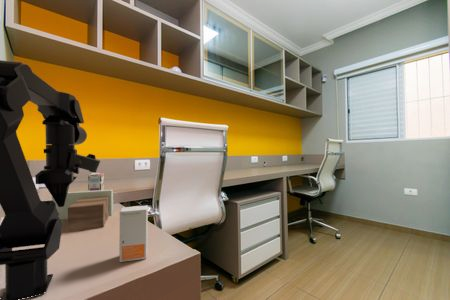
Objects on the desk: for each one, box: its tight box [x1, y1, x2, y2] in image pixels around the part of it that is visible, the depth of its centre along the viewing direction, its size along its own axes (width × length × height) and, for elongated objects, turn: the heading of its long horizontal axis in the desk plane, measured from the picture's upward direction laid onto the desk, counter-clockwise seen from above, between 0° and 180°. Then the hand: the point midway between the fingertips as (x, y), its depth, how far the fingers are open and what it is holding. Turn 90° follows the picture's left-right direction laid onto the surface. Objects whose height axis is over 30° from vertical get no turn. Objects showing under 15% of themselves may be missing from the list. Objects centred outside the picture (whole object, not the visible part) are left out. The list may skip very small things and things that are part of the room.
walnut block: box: [67, 196, 109, 233], centre depth 77 cm, size 14×10×8 cm
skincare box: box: [119, 205, 149, 263], centre depth 52 cm, size 6×4×12 cm
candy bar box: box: [87, 172, 105, 191], centre depth 92 cm, size 11×5×16 cm, turn 25°
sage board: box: [51, 189, 114, 221], centre depth 84 cm, size 3×20×10 cm, turn 107°
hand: (61, 206), depth 53 cm, fingers closed
